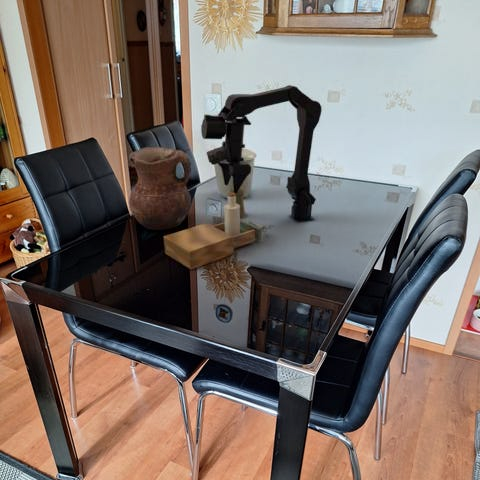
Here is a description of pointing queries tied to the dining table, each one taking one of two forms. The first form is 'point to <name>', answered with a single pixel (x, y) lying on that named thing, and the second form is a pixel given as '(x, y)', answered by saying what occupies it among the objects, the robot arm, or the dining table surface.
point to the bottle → (232, 216)
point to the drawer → (245, 232)
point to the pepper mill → (240, 200)
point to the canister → (225, 189)
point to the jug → (160, 188)
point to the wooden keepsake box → (199, 245)
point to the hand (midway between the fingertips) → (230, 188)
